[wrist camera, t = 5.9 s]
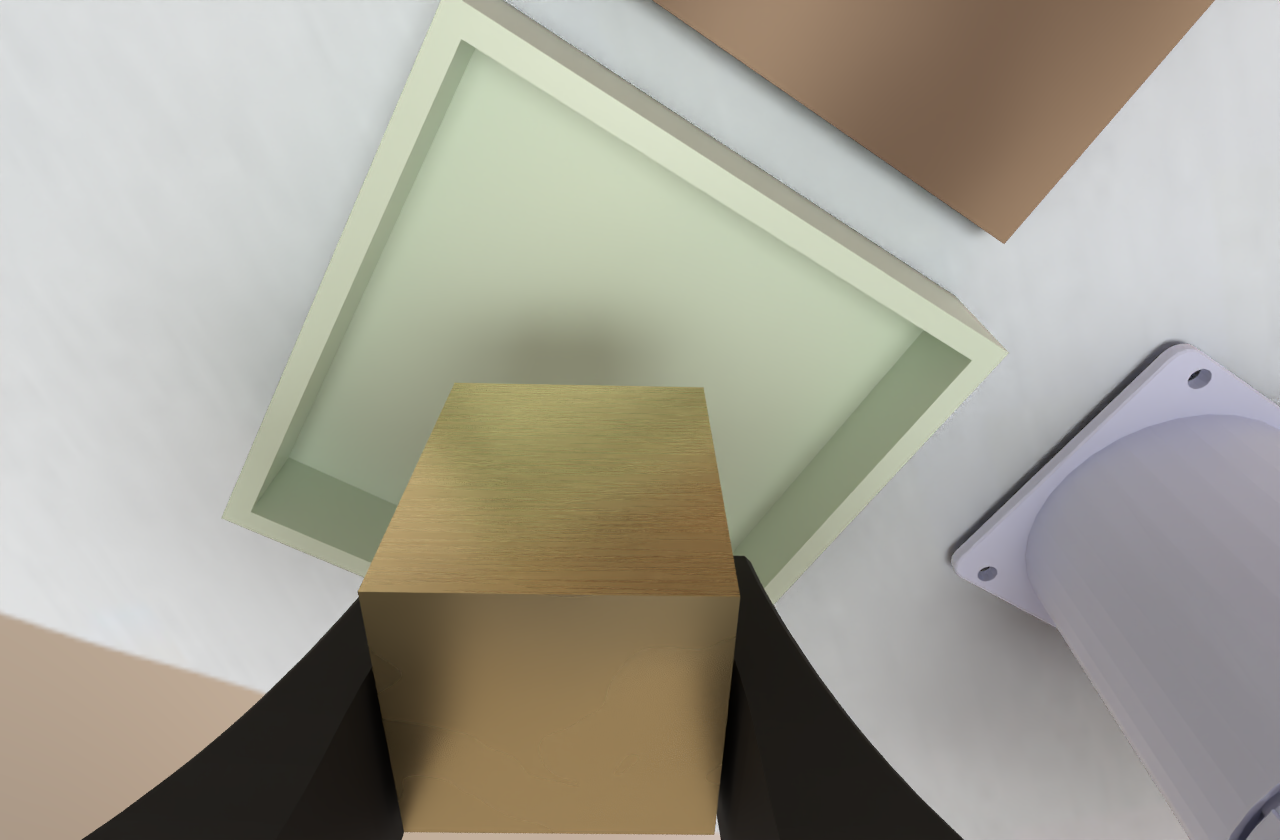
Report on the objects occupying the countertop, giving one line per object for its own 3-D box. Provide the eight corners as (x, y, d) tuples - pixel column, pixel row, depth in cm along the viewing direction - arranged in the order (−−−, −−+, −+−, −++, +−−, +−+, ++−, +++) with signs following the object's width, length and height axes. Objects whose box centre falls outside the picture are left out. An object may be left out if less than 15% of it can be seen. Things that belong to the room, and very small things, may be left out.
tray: (955, 295, 18) (1009, 352, 15) (673, 623, 23) (677, 707, 21) (479, -16, 15) (445, -11, 12) (275, 445, 20) (221, 518, 17)
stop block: (703, 387, 13) (740, 596, 8) (690, 580, 15) (714, 834, 10) (454, 382, 13) (357, 591, 8) (473, 578, 14) (404, 832, 10)
